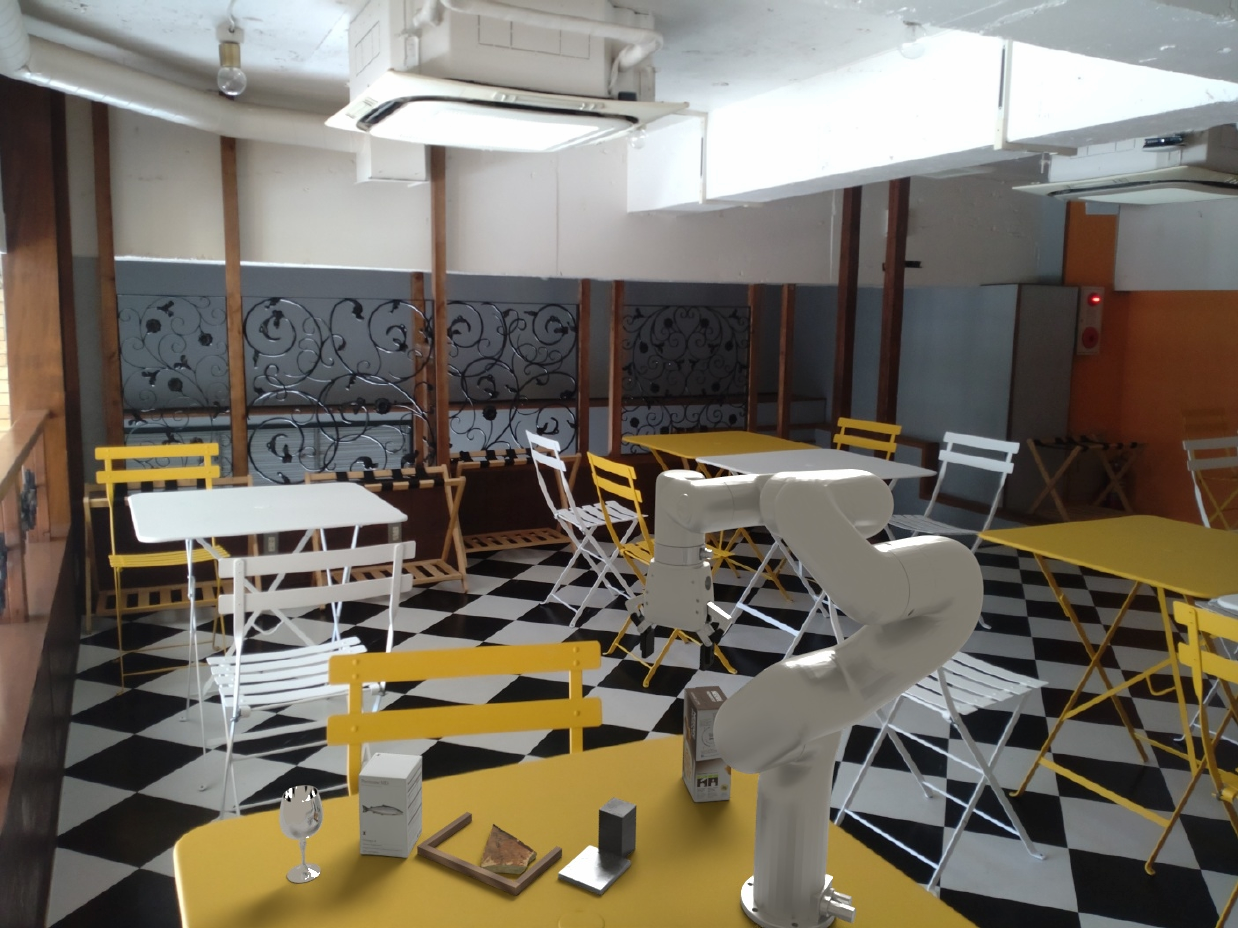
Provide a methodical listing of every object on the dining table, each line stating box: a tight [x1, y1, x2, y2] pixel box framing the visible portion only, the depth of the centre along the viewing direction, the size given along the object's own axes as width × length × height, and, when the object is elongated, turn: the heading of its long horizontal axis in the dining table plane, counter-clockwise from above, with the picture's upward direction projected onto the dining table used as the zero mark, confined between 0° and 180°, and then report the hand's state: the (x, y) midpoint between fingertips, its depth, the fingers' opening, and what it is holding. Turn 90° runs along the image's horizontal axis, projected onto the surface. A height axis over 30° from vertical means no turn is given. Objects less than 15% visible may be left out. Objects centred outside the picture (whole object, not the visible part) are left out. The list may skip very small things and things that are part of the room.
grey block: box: [557, 796, 638, 896], centre depth 132 cm, size 12×7×7 cm, turn 149°
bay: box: [416, 811, 563, 897], centre depth 134 cm, size 18×11×1 cm, turn 59°
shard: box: [480, 823, 538, 875], centre depth 135 cm, size 11×8×2 cm
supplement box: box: [358, 752, 423, 859], centre depth 136 cm, size 7×7×13 cm
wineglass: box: [278, 785, 324, 884], centre depth 128 cm, size 6×6×12 cm
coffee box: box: [681, 685, 732, 803], centre depth 153 cm, size 9×6×16 cm
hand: (676, 661), depth 140 cm, fingers open, 9 cm apart
